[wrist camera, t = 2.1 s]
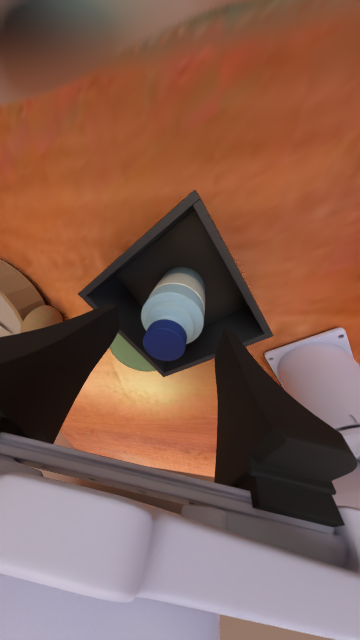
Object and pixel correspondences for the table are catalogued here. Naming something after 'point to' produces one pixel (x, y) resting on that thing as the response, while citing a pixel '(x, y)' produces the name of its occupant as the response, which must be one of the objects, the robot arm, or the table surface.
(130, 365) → the coaster
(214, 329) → the bin
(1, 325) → the alarm clock
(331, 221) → the table surface
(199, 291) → the bottle
